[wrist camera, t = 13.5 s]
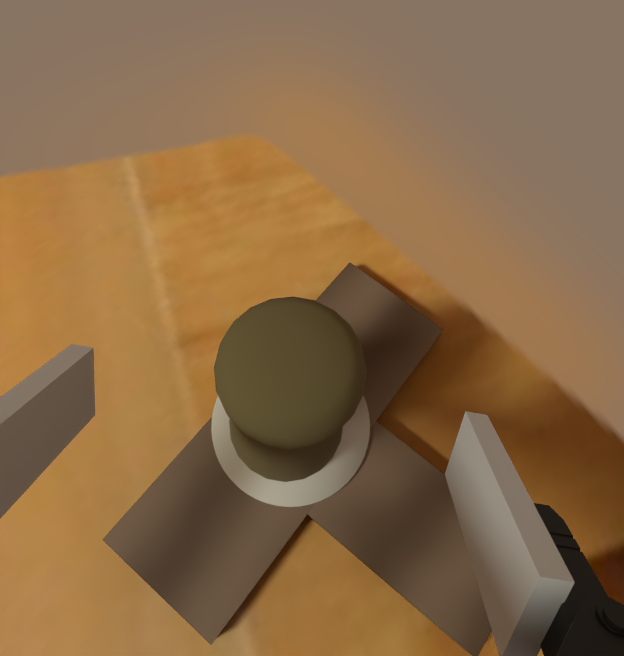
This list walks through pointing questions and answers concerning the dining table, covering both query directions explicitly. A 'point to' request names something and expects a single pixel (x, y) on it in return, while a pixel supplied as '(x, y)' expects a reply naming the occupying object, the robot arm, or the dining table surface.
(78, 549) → the dining table surface
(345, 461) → the walnut T board
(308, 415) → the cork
